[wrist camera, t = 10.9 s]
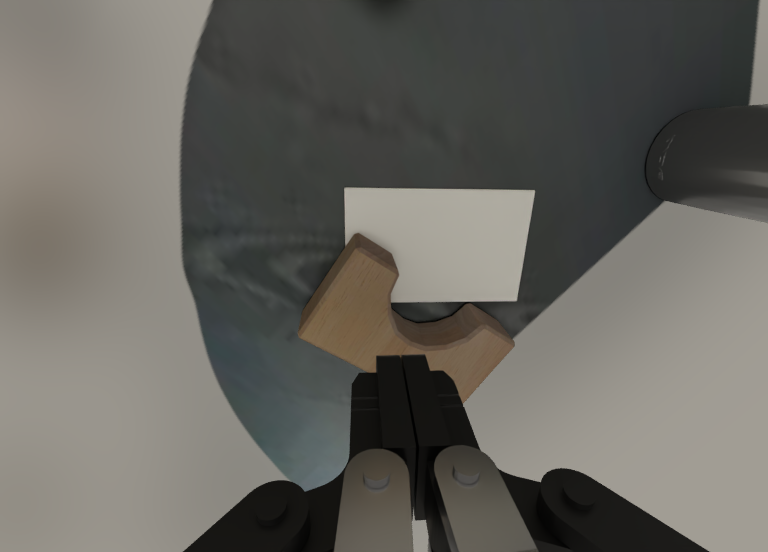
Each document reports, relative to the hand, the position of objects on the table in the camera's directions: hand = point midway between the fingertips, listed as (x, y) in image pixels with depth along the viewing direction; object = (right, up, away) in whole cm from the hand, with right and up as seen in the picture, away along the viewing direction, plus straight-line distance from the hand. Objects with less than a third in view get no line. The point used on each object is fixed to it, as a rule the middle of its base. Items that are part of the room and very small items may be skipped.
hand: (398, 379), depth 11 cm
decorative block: (-6, +3, +25) cm, 26 cm away
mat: (+5, +6, +28) cm, 29 cm away
